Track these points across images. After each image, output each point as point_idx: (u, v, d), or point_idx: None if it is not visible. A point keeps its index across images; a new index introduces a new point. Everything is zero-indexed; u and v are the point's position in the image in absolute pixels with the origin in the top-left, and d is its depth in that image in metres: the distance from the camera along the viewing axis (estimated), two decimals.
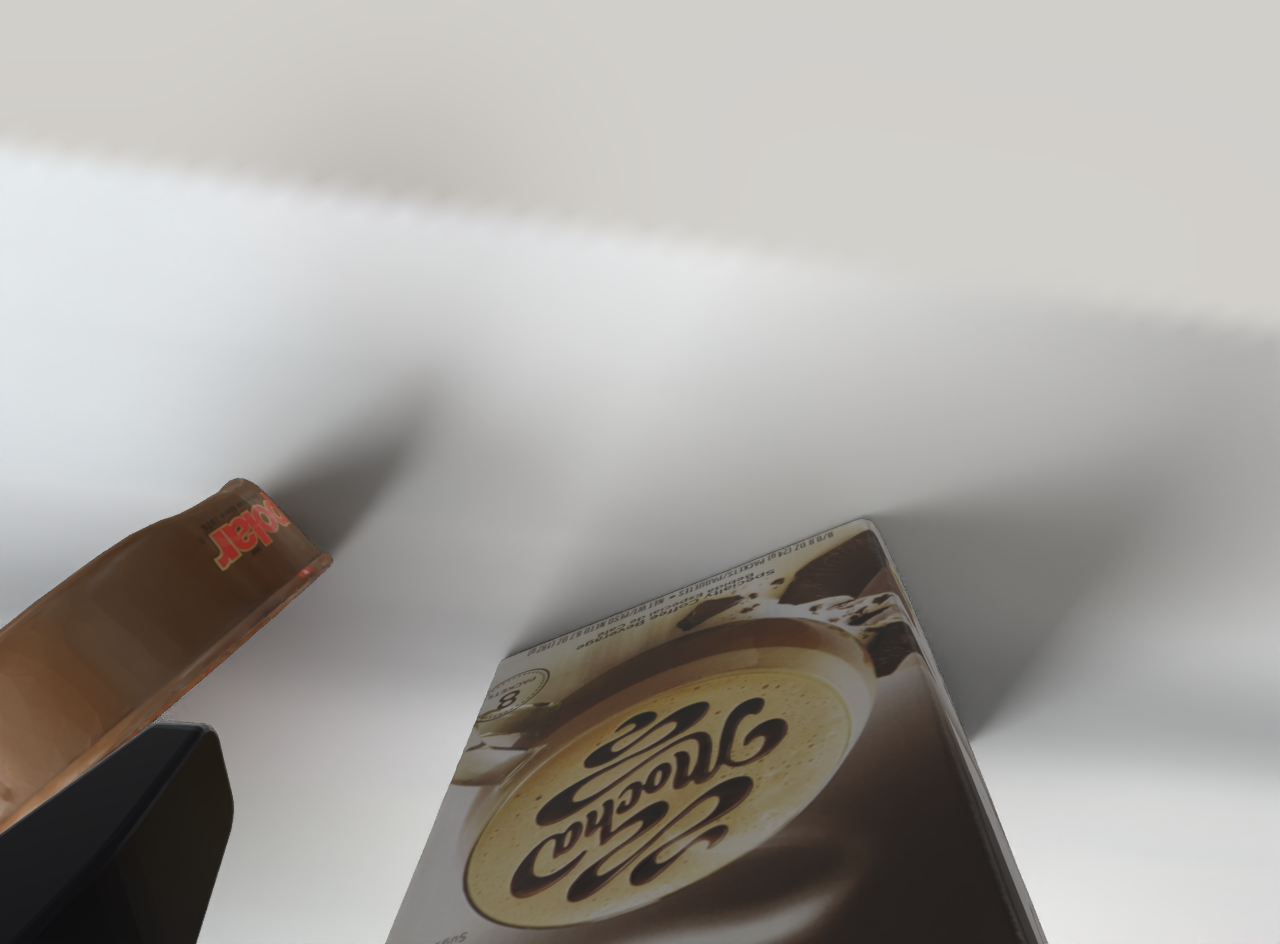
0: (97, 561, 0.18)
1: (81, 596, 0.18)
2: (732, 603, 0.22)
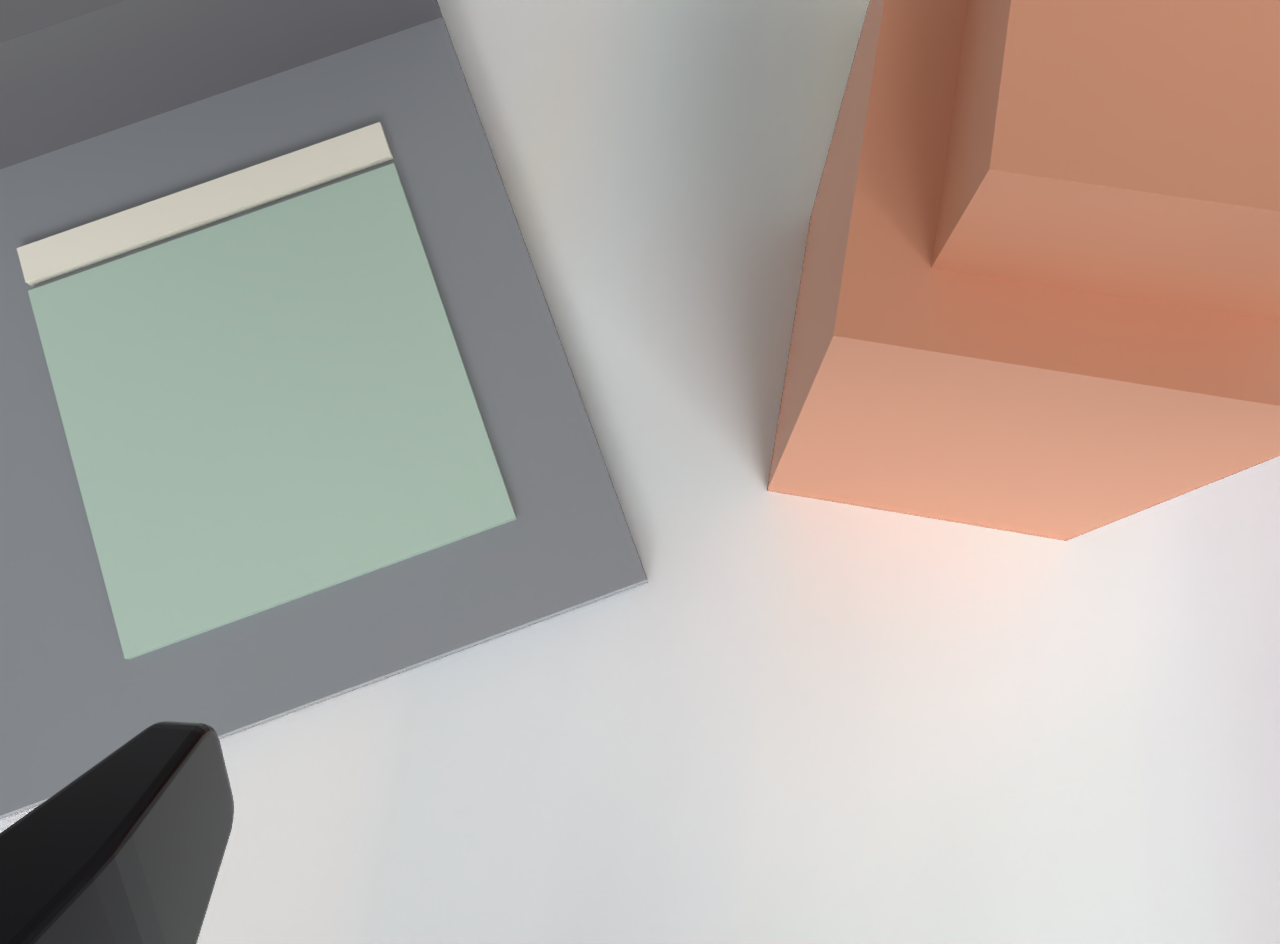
0: None
1: None
2: None
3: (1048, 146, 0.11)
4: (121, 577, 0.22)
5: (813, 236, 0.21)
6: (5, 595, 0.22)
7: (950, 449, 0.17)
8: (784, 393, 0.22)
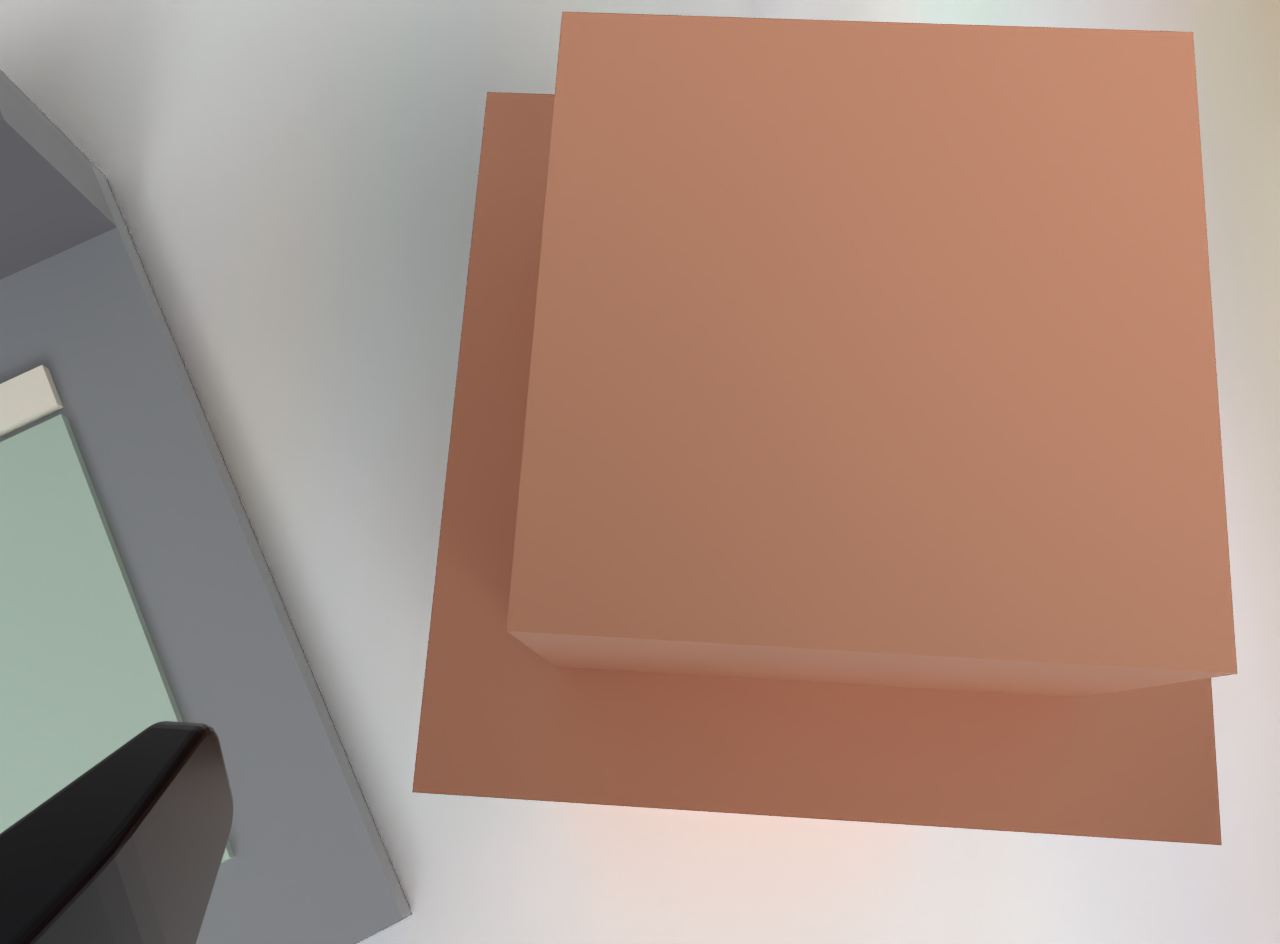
0: None
1: None
2: None
3: (602, 580, 0.06)
4: None
5: None
6: None
7: None
8: None
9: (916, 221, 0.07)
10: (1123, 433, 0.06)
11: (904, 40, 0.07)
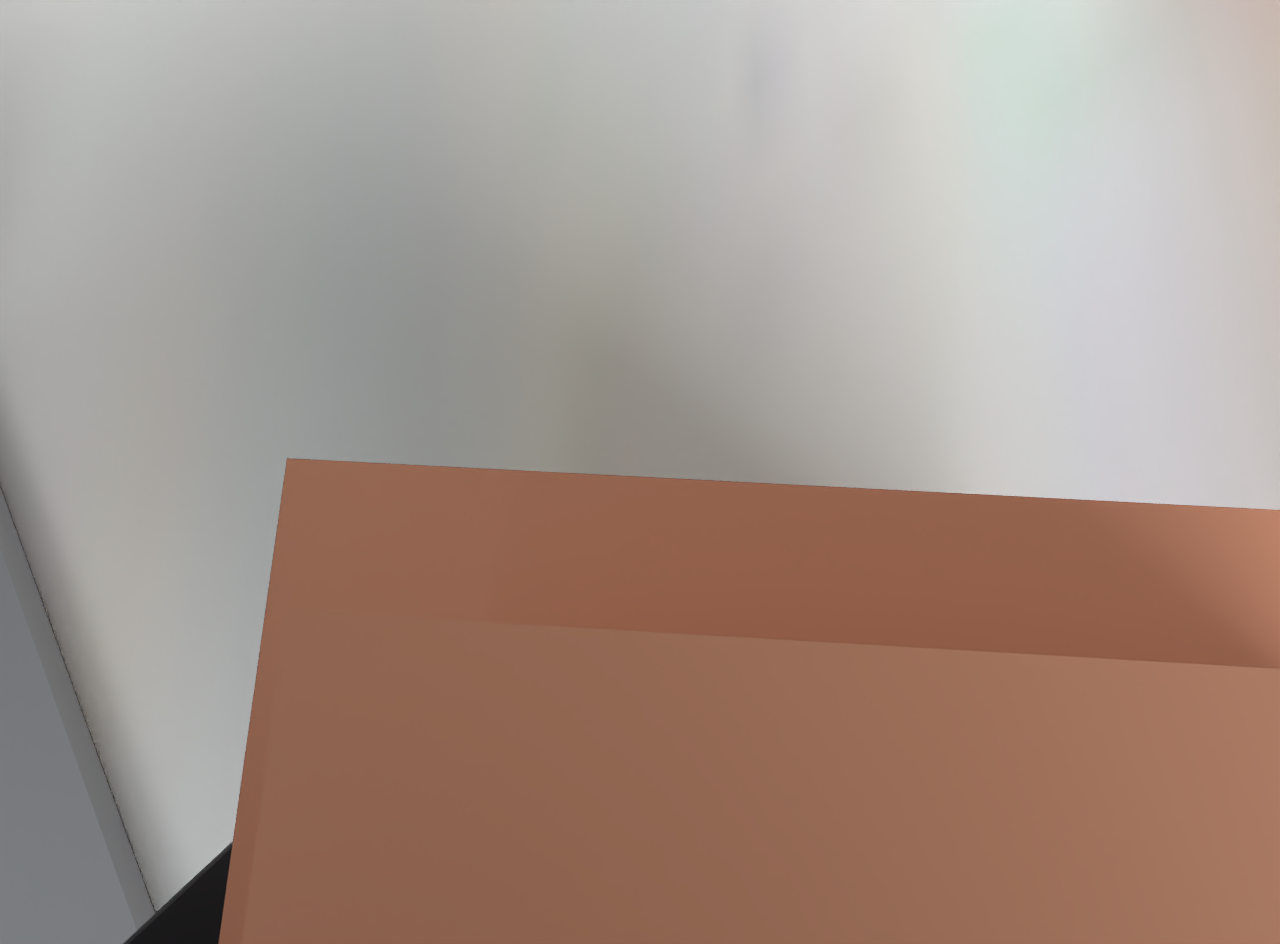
0: None
1: None
2: None
3: None
4: None
5: None
6: None
7: None
8: None
9: None
10: None
11: (1167, 716, 0.03)
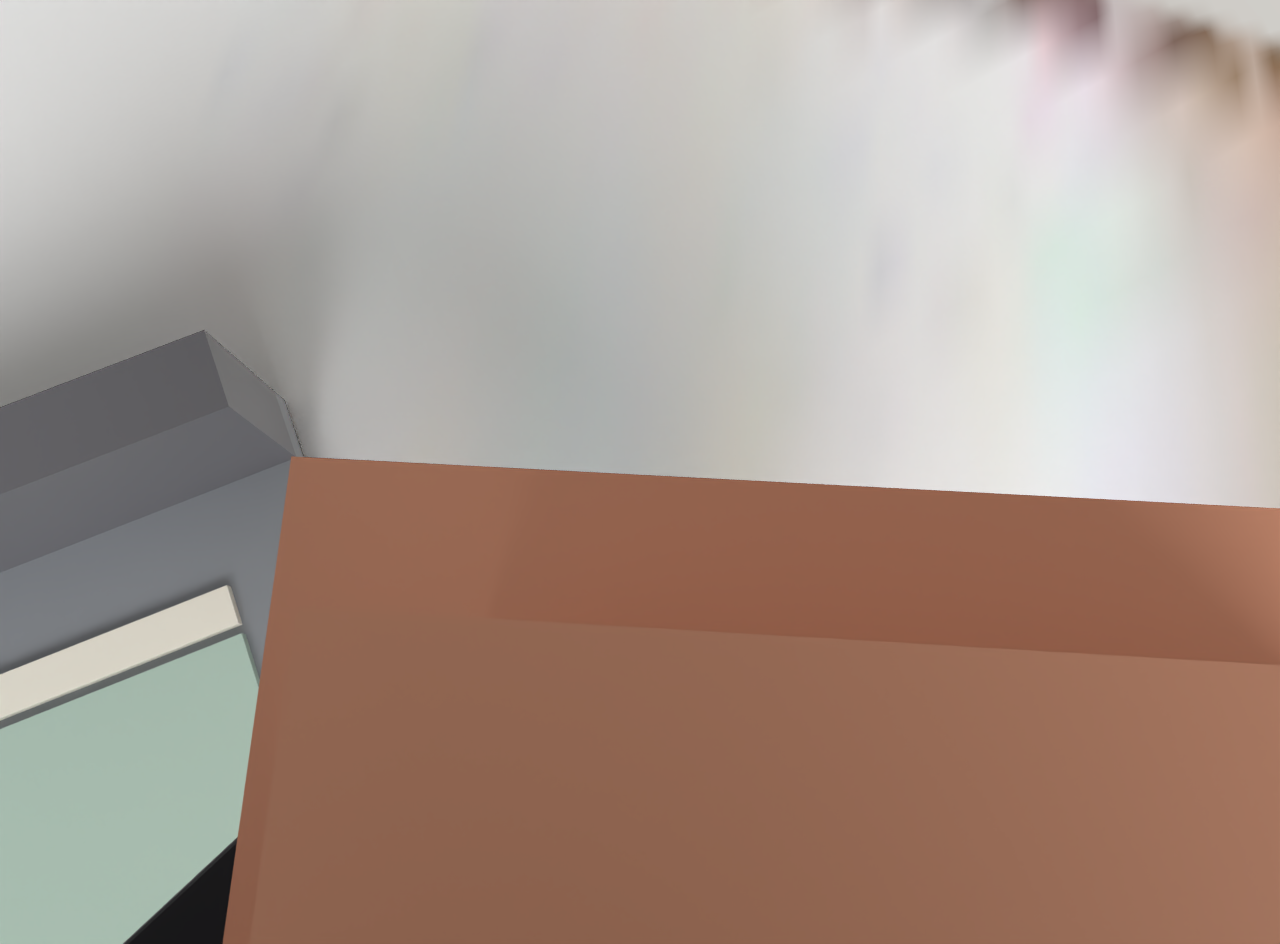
0: None
1: None
2: None
3: None
4: None
5: None
6: None
7: None
8: None
9: None
10: None
11: (1176, 714, 0.03)
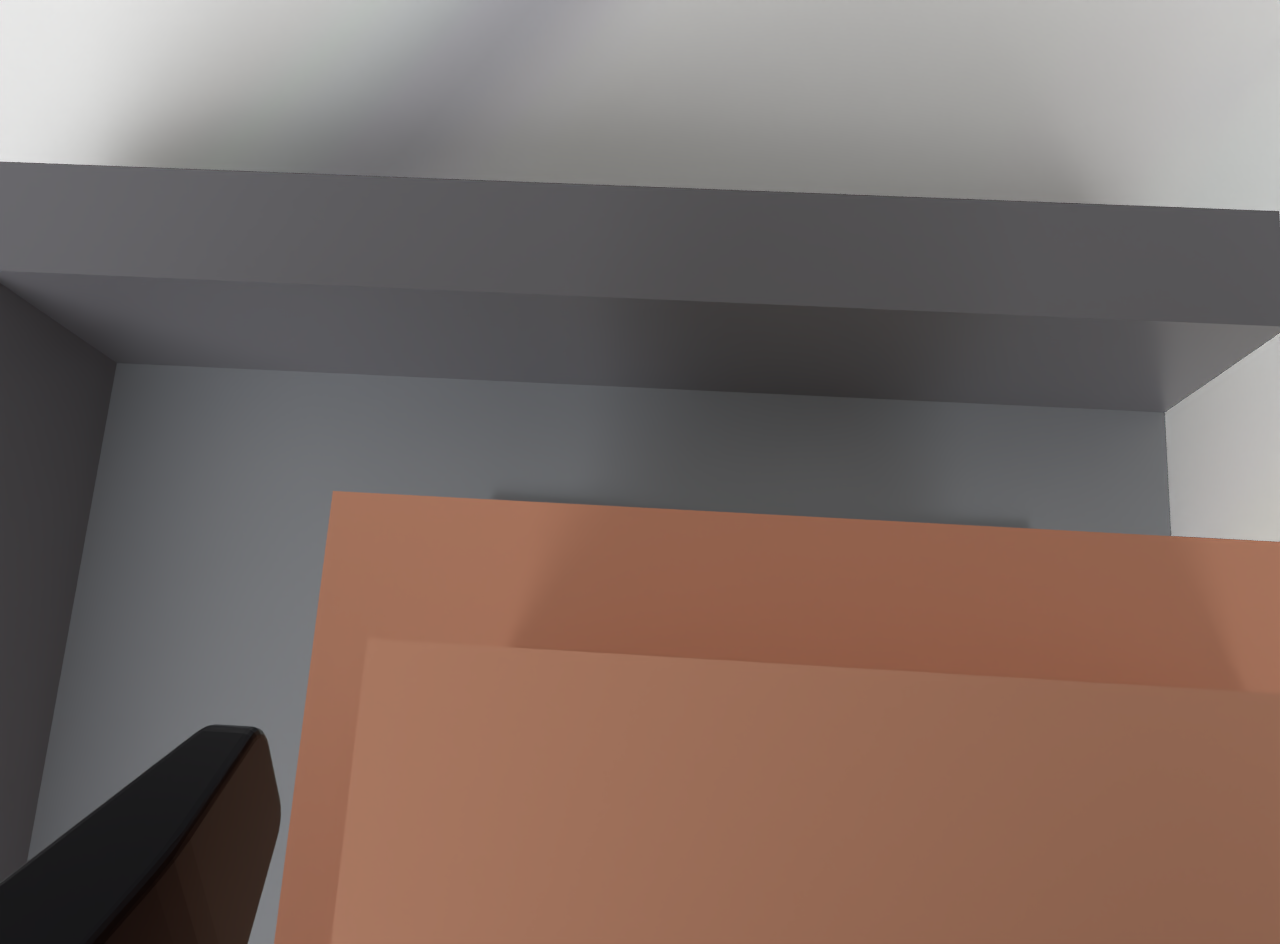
0: None
1: None
2: None
3: None
4: None
5: None
6: None
7: None
8: None
9: None
10: None
11: (1068, 725, 0.03)
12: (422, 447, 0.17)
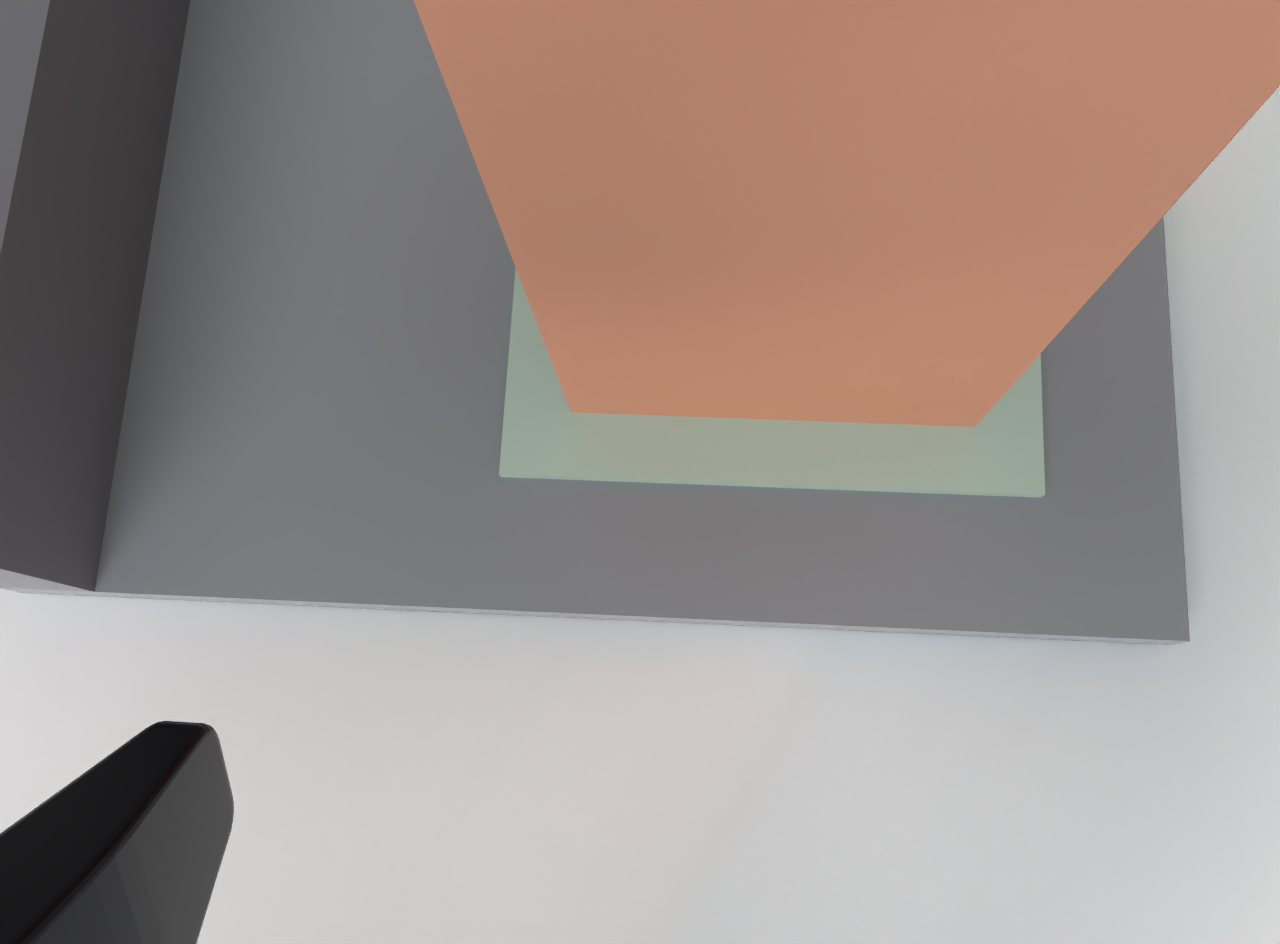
0: None
1: None
2: None
3: None
4: (529, 375, 0.17)
5: None
6: (382, 343, 0.18)
7: (744, 259, 0.11)
8: None
9: None
10: None
11: None
12: None
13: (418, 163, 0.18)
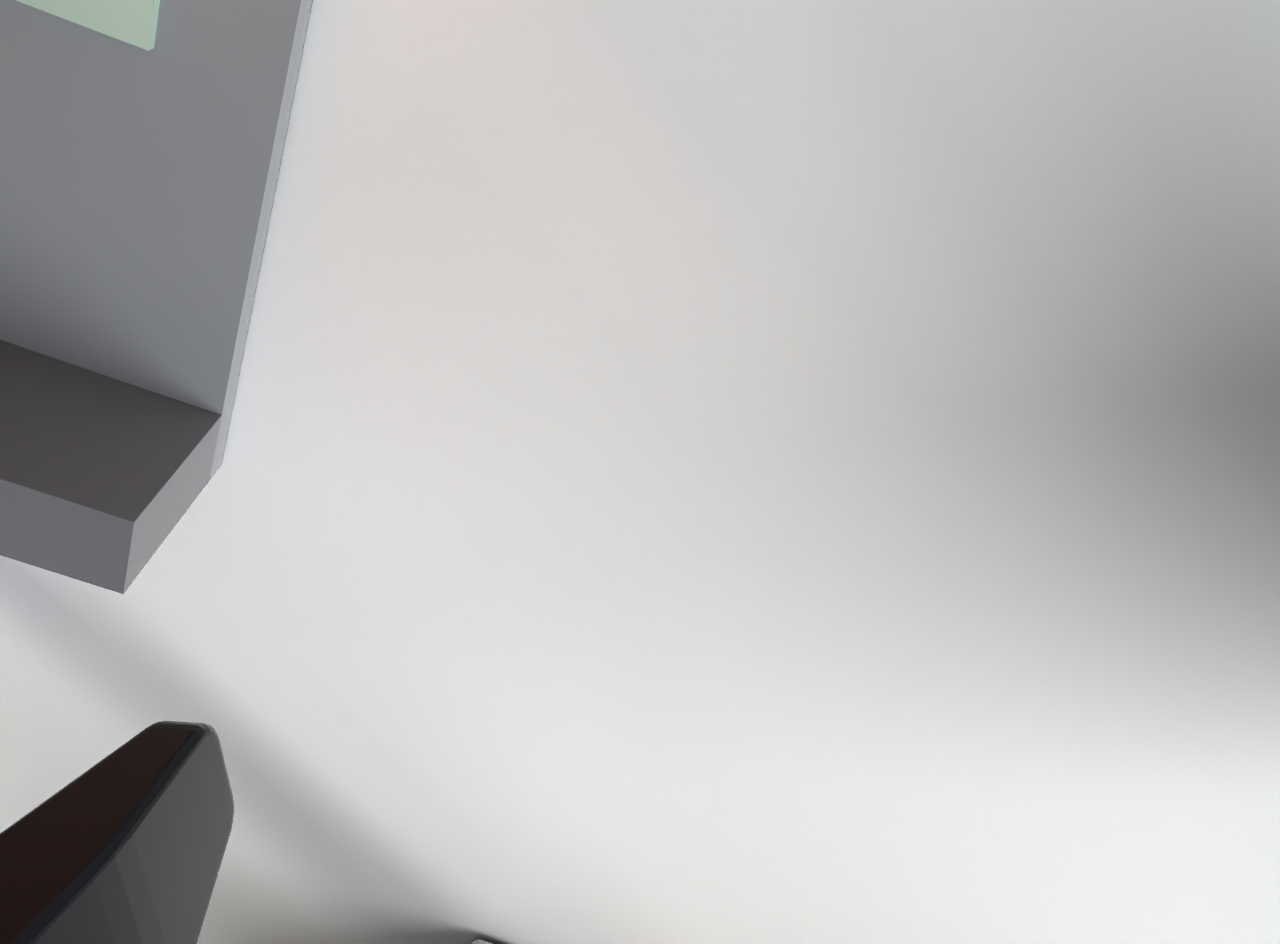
0: None
1: None
2: None
3: None
4: None
5: None
6: (9, 125, 0.18)
7: None
8: None
9: None
10: None
11: None
12: None
13: None
